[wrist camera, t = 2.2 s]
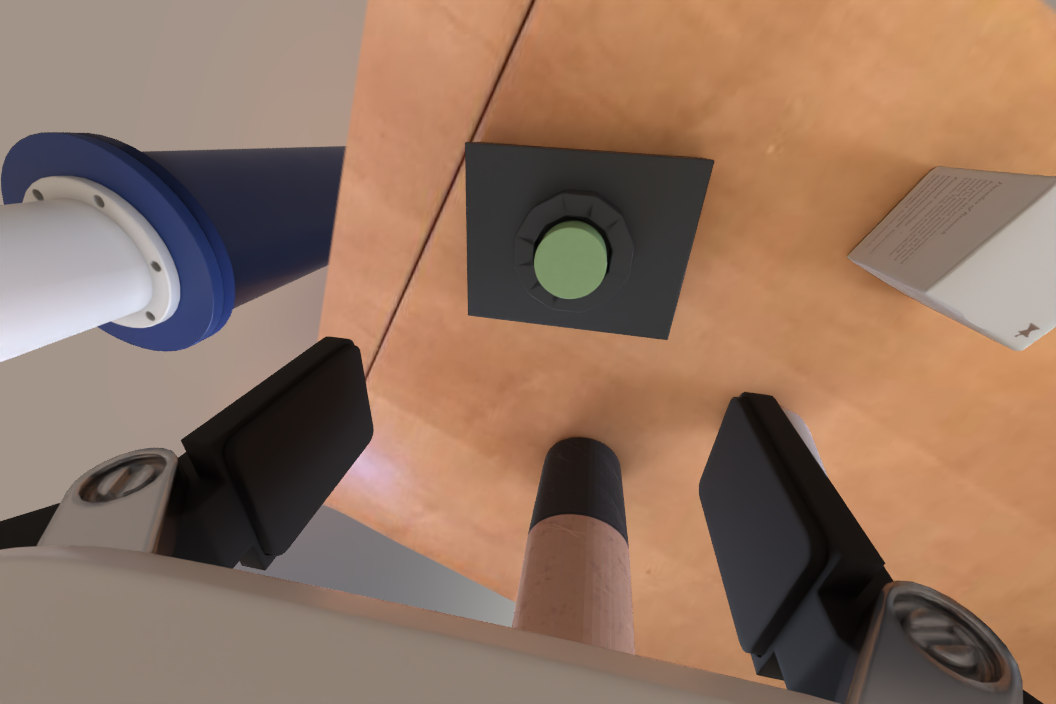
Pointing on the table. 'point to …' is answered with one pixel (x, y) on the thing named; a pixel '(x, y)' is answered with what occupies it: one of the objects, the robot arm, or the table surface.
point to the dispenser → (599, 200)
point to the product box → (973, 251)
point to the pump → (571, 260)
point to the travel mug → (578, 551)
